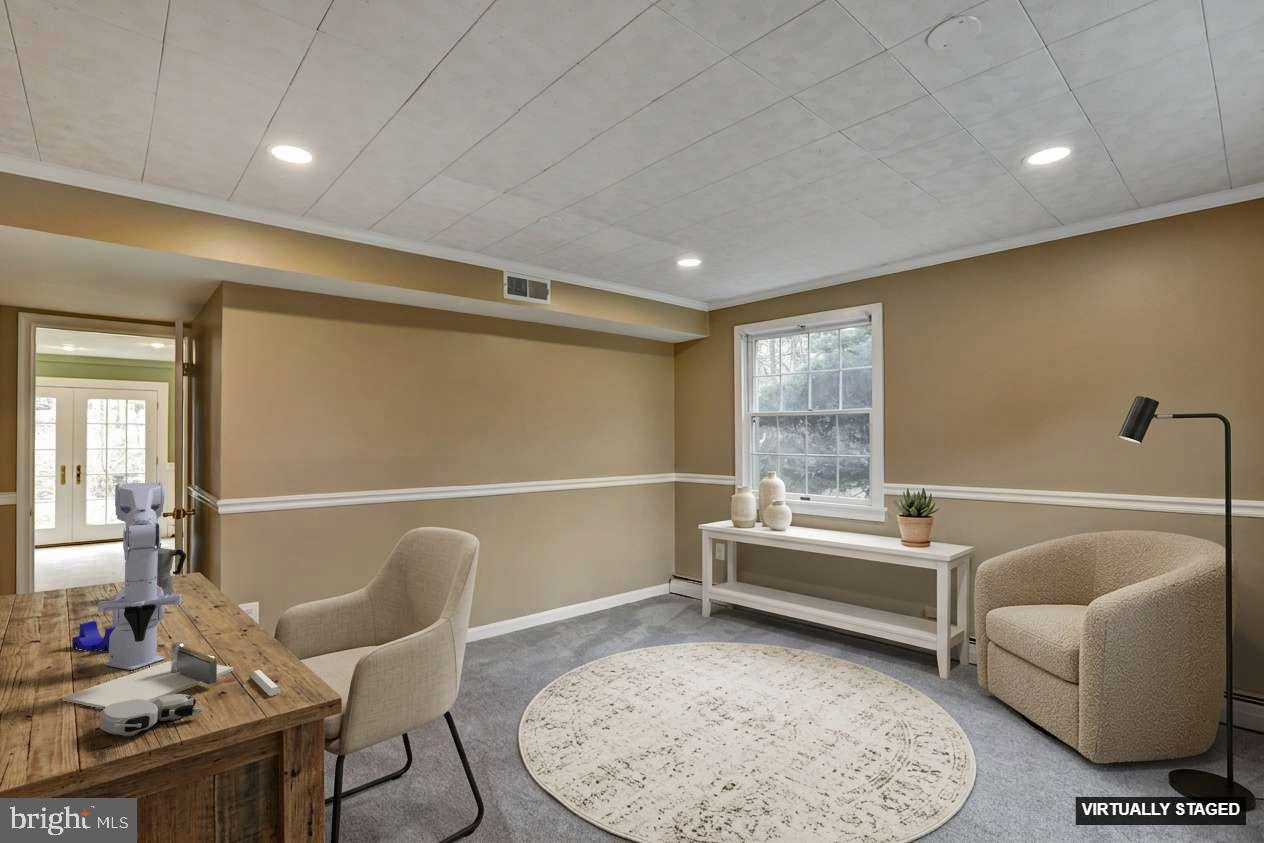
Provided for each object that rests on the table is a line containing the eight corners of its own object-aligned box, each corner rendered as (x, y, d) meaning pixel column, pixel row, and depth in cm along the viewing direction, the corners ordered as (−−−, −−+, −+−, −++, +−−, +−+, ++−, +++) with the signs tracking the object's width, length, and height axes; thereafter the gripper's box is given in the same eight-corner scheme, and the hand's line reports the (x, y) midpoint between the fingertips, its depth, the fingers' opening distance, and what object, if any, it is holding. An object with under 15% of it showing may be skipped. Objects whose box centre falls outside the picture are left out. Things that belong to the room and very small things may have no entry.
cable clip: (72, 649, 162) (72, 625, 162) (92, 643, 166) (93, 620, 166) (102, 655, 158) (102, 631, 158) (122, 649, 162) (122, 626, 162)
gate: (209, 684, 137) (209, 658, 137) (177, 671, 144) (177, 646, 144) (216, 682, 138) (216, 656, 138) (184, 669, 145) (184, 645, 145)
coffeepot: (126, 600, 208) (127, 545, 208) (146, 593, 217) (147, 540, 217) (176, 599, 209) (177, 545, 209) (193, 592, 218) (194, 540, 219)
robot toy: (183, 707, 130) (89, 728, 119) (185, 684, 131) (92, 703, 119) (205, 724, 123) (108, 749, 111) (208, 700, 123) (111, 722, 111)
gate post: (168, 675, 144) (168, 644, 145) (178, 672, 147) (179, 641, 147) (175, 677, 144) (176, 646, 144) (186, 673, 146) (186, 642, 146)
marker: (253, 679, 145) (276, 699, 134) (244, 676, 144) (266, 697, 133) (260, 668, 146) (283, 687, 135) (251, 665, 145) (273, 684, 134)
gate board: (62, 701, 131) (62, 697, 131) (178, 661, 153) (178, 658, 153) (122, 714, 125) (122, 709, 125) (233, 670, 148) (233, 667, 148)
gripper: (94, 586, 134) (93, 650, 134) (178, 579, 141) (176, 640, 141) (103, 579, 140) (101, 640, 140) (182, 572, 147) (181, 631, 147)
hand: (139, 640), depth 141 cm, fingers closed
